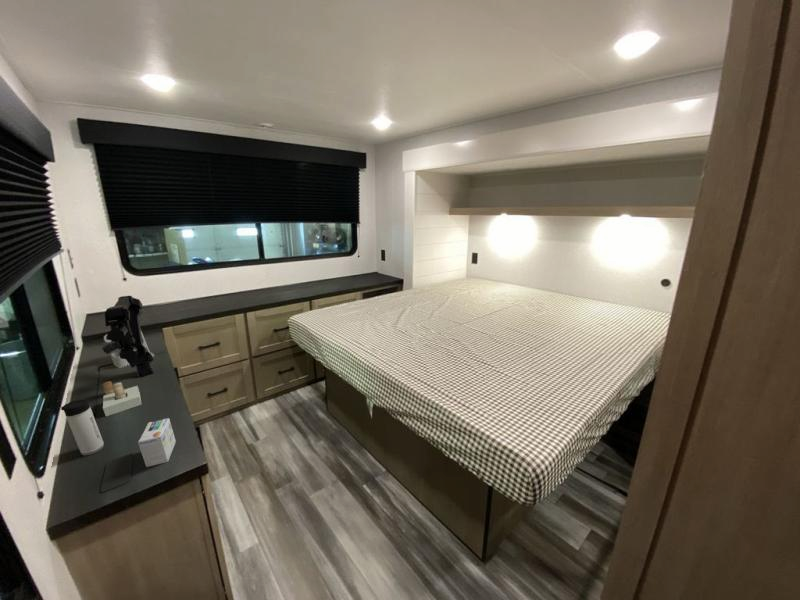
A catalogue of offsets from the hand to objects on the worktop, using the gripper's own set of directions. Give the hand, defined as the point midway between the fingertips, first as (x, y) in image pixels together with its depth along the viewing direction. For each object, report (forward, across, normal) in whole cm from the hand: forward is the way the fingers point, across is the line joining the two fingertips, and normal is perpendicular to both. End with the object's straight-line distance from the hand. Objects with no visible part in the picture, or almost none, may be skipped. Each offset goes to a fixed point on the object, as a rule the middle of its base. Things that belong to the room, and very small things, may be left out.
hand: (132, 363), depth 154 cm
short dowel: (+12, -1, -11) cm, 17 cm away
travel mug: (+13, +41, -16) cm, 46 cm away
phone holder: (+13, -37, -1) cm, 40 cm away
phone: (+13, +61, -9) cm, 63 cm away
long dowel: (+12, +13, -6) cm, 19 cm away
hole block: (+12, +13, -6) cm, 19 cm away
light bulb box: (+13, +61, +3) cm, 62 cm away
